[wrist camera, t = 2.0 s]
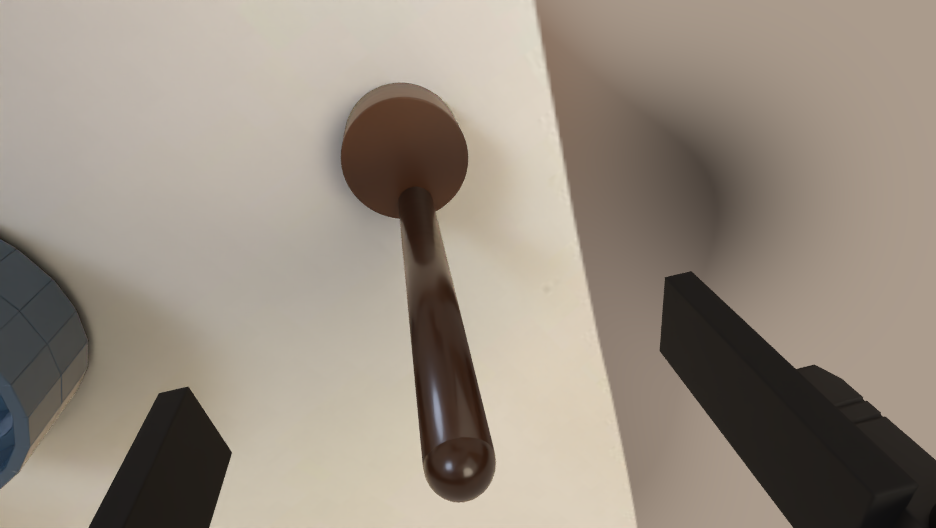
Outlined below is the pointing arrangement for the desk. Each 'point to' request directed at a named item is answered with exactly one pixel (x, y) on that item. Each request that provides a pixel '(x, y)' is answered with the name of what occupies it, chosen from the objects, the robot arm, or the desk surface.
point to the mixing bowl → (34, 357)
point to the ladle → (425, 270)
